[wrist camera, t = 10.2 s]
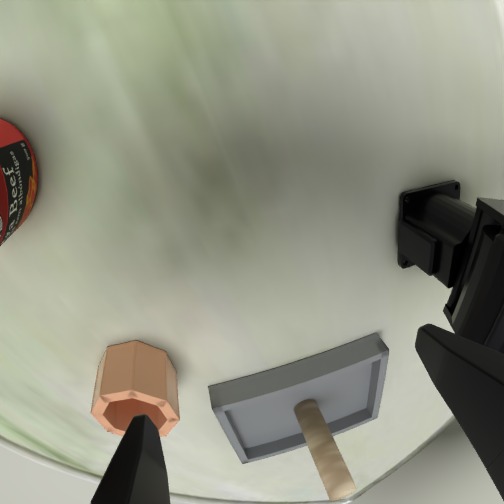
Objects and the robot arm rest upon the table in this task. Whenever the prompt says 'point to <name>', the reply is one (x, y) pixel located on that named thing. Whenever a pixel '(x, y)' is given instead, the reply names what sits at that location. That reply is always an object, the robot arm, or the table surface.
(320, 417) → the dowel pin
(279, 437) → the tray
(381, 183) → the table surface
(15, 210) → the canned food
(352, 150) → the table surface
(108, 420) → the cup
